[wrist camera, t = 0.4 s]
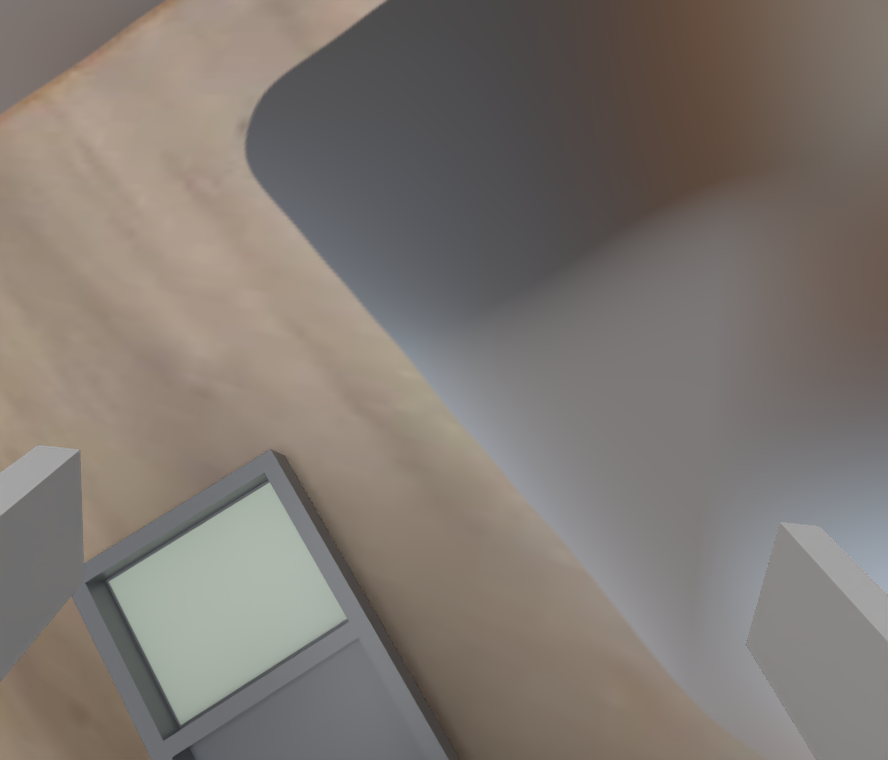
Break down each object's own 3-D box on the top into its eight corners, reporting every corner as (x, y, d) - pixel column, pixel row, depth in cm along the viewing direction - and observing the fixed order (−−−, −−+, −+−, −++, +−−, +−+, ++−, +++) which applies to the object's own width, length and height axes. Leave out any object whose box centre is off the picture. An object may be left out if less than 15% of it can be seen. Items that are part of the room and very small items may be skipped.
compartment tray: (476, 788, 44) (477, 809, 40) (268, 928, 42) (251, 962, 39) (284, 455, 48) (270, 449, 45) (91, 574, 47) (62, 577, 43)
